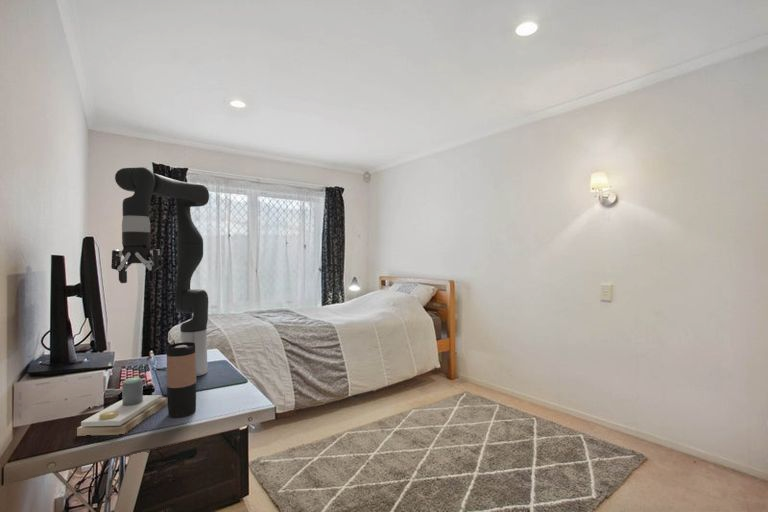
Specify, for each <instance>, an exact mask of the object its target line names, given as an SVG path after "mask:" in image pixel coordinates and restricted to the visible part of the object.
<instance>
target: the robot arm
mask: <svg viewBox="0 0 768 512" xmlns="http://www.w3.org/2000/svg"><path fill="white" fill-rule="evenodd" d="M114 181H115V183H116V184H117V186H118V187H119V188H121V189H122V190H124V191H127V192H132V193H133V194H132V195H131V196H129V197H125V198H124V199H123V200H122V221H121V244H122V249H121V250H120V249H112V251H111V269H112V270H115V271H117V272H118V282H120V284H127V283H128V270H127V269H128V268H129V266H131V265H132V264H143V266H145V267H146V269H148V270H147V283H155V281H156V280H157V277H156V276H157V272H156V271H157V270H158V269H162V268H163V261H162V250H161V249H160V248H158V249H155V248H154V249H151V242H152V241H151V235H152V234H151V221H150V203H151V200H152V197H153V196H156V197H157V196H158V197H163V198H172V199H174V200H175V203H174V204H175V210H176V212H175V213H176V221H177V222H176V223H177V224H176V225H177V227H176V228H177V235H176V236H177V237H176V238H177V240H176V242H177V243H176V254H177V271H176V274H177V275H176V285H175V294H174V305H175V306H174V307H175V309H176V311H177V312H178V313H180V314H192V318H191V319H190V320H188V321H185V322H183V323H181V324H180V327H179V328H180V343H183V342H192V343H195V352H196V377H200V376H203V375H205V374H207V373H208V331H207V329H208V328H207V327H208V320H209V295H208V292H207V291H206V290H205V289H191V283H192V282H191V281H192V277H193V276H194V273H195V271H196V270H197V268H198V267H199V265H200V263H201V262H202V259H203V257H204V239H203V236H202V234H201V232H200V231H199V229H198V228H197V227H196V225H195V224H194V222H193V219H192V215H191V214H192V213H191V208H194V207H195V208H197V207H204V206H206V205H207V204H208V202H209V200H210V192H209V190H208V188H207V187H206V186H205V185H204V184H202V183H199V182H198V183H197V182H191V183H190V182H186V181H180V180H177V179H173V178H170V177H166V176H163V175H161V174H157V173H154V172H152V170H150V168H148V167H141V166H140V167H124V168H120V169H119V170H117V171H116V173H115V175H114ZM122 256H123V258H122ZM151 256H152V258H153V259H151V258H150V257H151Z"/></svg>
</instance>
